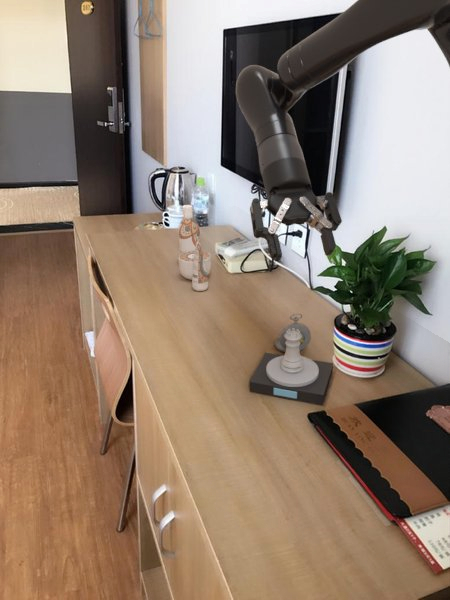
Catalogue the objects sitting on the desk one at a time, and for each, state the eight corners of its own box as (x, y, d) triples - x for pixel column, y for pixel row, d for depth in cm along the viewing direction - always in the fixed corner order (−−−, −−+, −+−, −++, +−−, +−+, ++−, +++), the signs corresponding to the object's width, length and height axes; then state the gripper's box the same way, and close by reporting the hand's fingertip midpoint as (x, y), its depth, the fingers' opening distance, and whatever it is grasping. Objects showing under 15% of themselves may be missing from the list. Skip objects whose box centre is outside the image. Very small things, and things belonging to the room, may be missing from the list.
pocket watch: (288, 336, 114) (289, 296, 110) (318, 349, 108) (320, 308, 104) (263, 349, 109) (264, 308, 105) (293, 364, 104) (294, 321, 99)
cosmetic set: (219, 292, 137) (216, 225, 129) (185, 295, 136) (180, 228, 127) (204, 260, 159) (201, 201, 151) (175, 263, 158) (170, 204, 150)
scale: (332, 373, 100) (333, 359, 99) (322, 406, 91) (323, 391, 89) (264, 362, 105) (265, 348, 103) (248, 392, 95) (248, 378, 94)
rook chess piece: (277, 372, 95) (278, 335, 92) (283, 360, 99) (284, 324, 96) (300, 376, 94) (302, 339, 90) (306, 364, 98) (307, 327, 94)
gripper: (246, 158, 80) (266, 250, 75) (330, 152, 82) (355, 240, 77) (238, 184, 87) (256, 270, 82) (316, 178, 89) (338, 261, 84)
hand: (304, 255), depth 79 cm, fingers open, 8 cm apart
